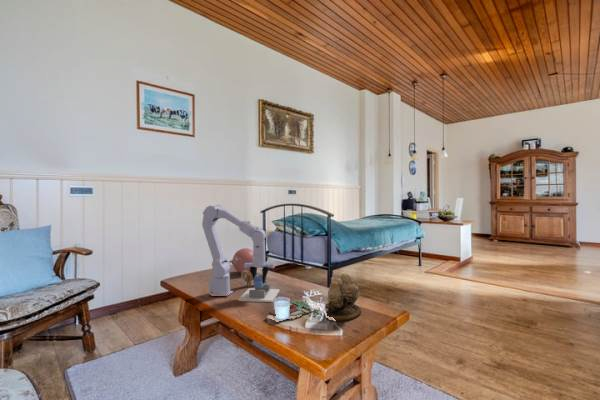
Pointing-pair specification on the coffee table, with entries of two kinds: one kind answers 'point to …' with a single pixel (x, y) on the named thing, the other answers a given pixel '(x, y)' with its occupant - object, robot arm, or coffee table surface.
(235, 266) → the balloon
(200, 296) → the coffee table surface
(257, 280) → the block
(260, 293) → the pocket plate
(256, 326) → the coffee table surface
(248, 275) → the lion figurine
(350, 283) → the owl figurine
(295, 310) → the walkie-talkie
